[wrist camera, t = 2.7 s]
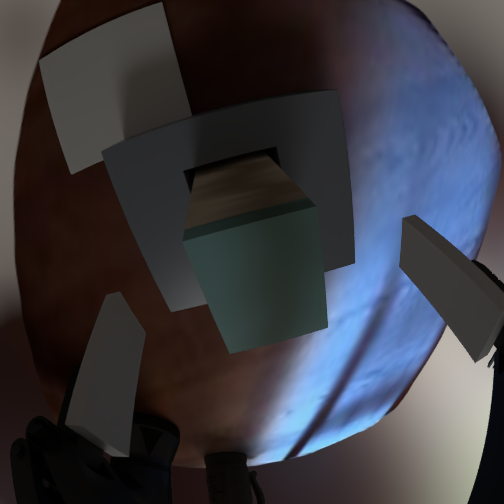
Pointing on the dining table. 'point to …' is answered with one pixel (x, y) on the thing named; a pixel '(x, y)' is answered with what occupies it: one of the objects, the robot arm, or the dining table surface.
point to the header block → (225, 146)
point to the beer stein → (231, 479)
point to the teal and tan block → (255, 251)
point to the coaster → (113, 85)
